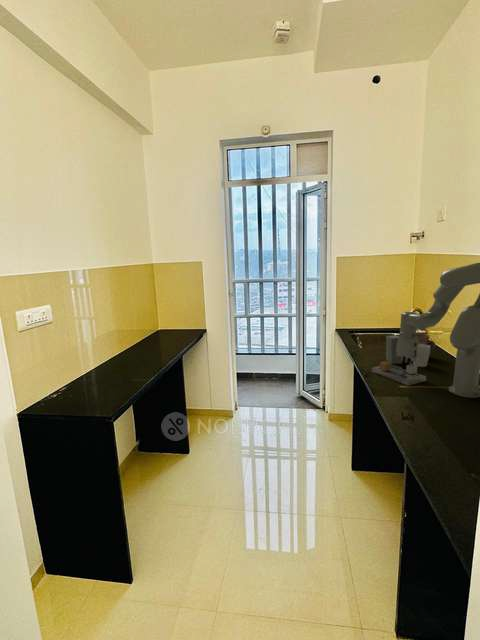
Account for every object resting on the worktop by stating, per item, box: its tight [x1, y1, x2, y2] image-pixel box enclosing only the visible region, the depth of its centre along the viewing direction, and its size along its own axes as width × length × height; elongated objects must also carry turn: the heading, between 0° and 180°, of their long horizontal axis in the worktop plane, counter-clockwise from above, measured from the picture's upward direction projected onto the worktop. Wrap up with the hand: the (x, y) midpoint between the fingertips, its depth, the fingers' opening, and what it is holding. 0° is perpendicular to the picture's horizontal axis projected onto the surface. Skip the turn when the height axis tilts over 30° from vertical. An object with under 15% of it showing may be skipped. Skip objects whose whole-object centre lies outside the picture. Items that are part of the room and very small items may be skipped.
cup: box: [412, 344, 431, 368], centre depth 194 cm, size 9×9×12 cm
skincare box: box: [385, 334, 402, 365], centre depth 201 cm, size 8×7×16 cm
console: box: [371, 364, 427, 386], centre depth 178 cm, size 23×13×3 cm, turn 26°
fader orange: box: [379, 360, 392, 371], centre depth 180 cm, size 3×4×4 cm
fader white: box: [406, 363, 418, 374], centre depth 175 cm, size 3×4×4 cm
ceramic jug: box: [416, 332, 436, 355], centre depth 211 cm, size 18×14×14 cm
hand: (405, 369), depth 178 cm, fingers closed
